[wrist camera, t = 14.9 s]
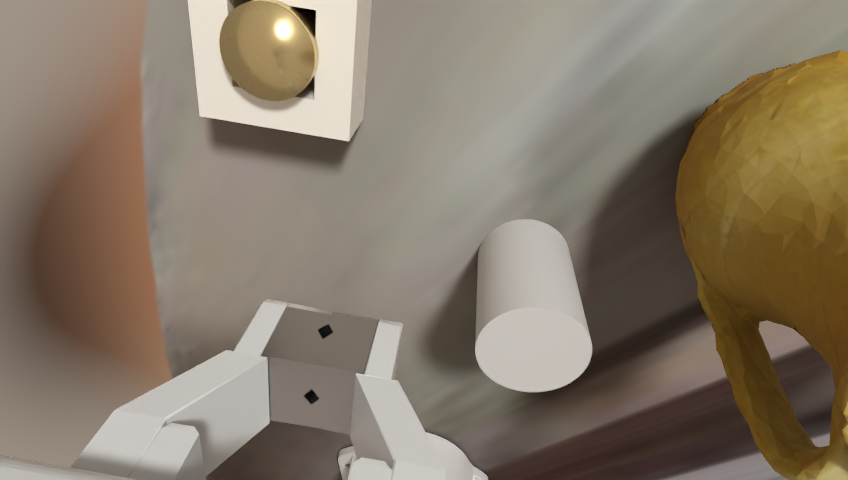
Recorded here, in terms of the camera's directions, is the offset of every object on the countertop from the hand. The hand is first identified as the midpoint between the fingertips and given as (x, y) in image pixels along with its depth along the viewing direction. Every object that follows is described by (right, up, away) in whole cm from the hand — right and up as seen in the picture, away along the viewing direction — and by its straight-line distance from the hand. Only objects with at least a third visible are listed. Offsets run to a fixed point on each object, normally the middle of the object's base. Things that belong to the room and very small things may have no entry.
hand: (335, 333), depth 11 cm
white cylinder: (+11, 0, +35) cm, 37 cm away
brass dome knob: (-8, +17, +27) cm, 32 cm away
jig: (-8, +17, +27) cm, 33 cm away
